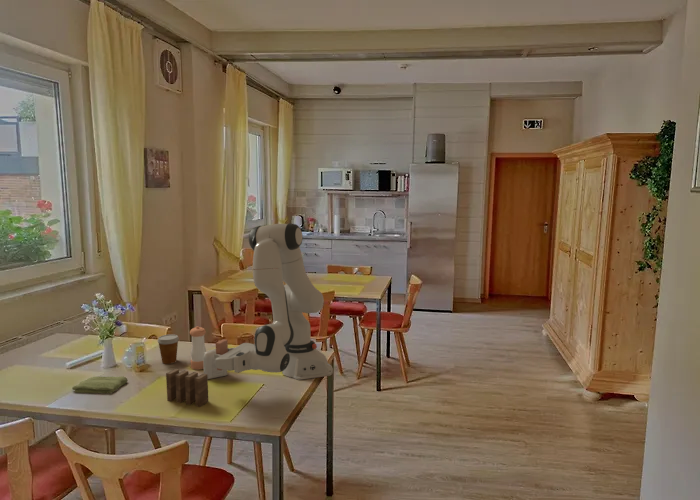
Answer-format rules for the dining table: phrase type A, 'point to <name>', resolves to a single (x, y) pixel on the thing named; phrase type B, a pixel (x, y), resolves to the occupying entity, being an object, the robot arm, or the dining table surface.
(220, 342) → the terracotta domino
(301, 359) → the robot arm
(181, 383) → the walnut domino
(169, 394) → the walnut domino
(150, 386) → the dining table surface
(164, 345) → the disposable coffee cup
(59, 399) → the dining table surface
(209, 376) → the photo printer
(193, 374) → the walnut domino
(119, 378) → the washcloth
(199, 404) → the walnut domino
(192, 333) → the pepper shaker
